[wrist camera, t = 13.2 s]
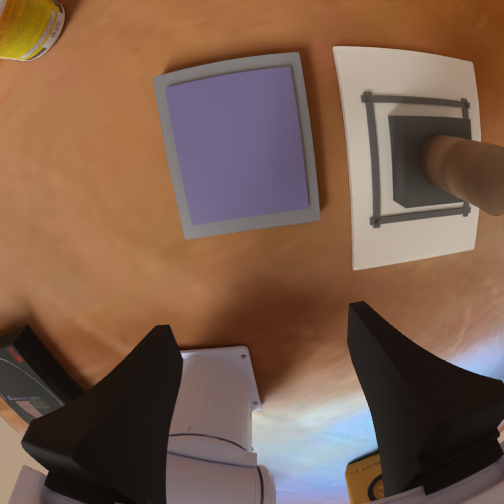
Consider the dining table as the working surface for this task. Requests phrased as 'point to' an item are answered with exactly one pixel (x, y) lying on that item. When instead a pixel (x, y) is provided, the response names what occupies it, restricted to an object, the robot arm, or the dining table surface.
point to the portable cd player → (32, 376)
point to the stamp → (444, 164)
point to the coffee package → (365, 480)
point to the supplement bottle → (29, 27)
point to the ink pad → (239, 144)
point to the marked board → (379, 150)
